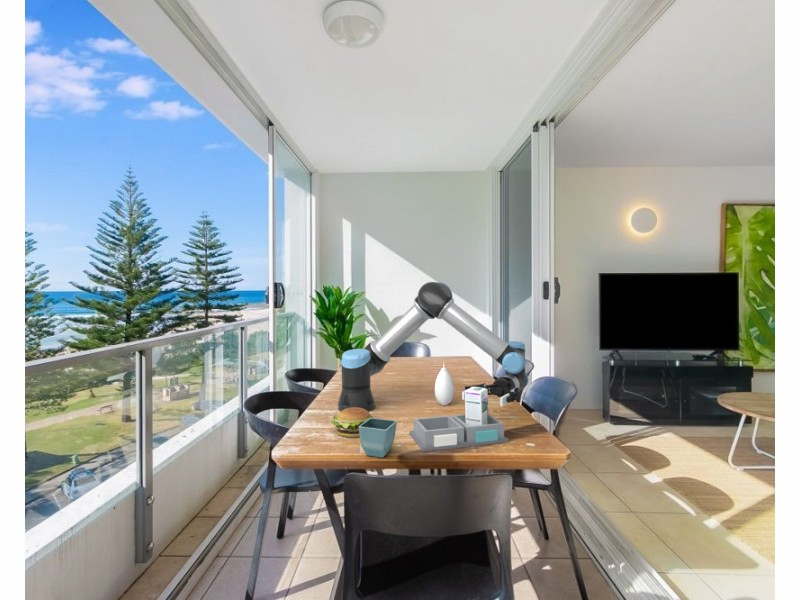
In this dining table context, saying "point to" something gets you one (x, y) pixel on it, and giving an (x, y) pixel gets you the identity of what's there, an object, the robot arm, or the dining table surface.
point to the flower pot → (377, 436)
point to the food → (350, 421)
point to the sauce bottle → (444, 387)
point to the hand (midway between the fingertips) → (481, 398)
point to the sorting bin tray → (455, 432)
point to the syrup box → (476, 406)
